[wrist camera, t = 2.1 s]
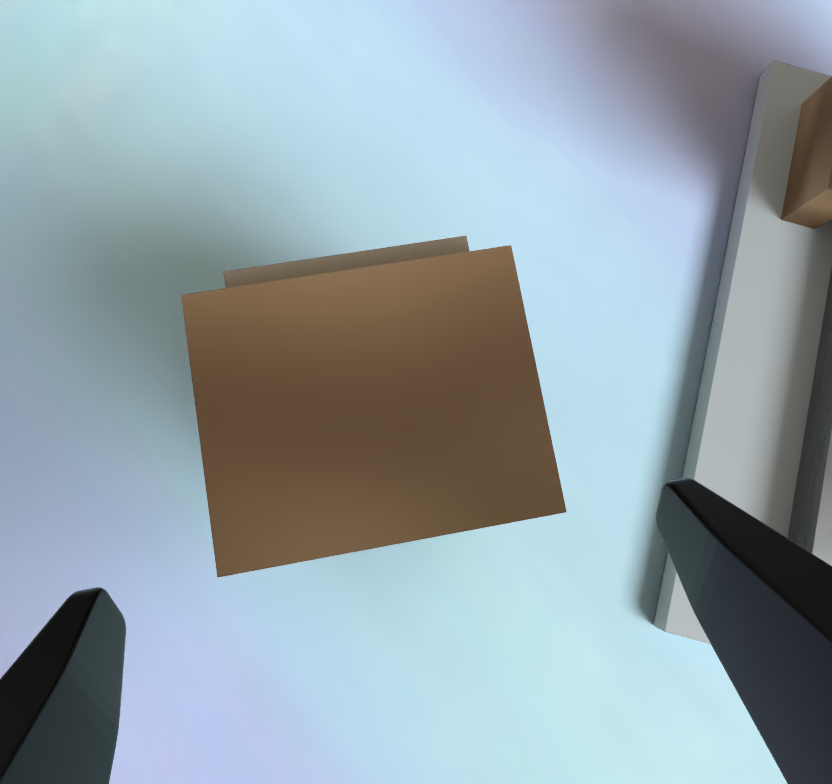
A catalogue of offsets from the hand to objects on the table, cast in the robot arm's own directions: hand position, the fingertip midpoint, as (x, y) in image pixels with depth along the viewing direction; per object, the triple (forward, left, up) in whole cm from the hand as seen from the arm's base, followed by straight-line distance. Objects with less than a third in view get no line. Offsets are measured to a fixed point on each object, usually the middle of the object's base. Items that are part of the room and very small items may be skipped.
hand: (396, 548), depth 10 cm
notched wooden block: (+1, +2, -10) cm, 10 cm away
